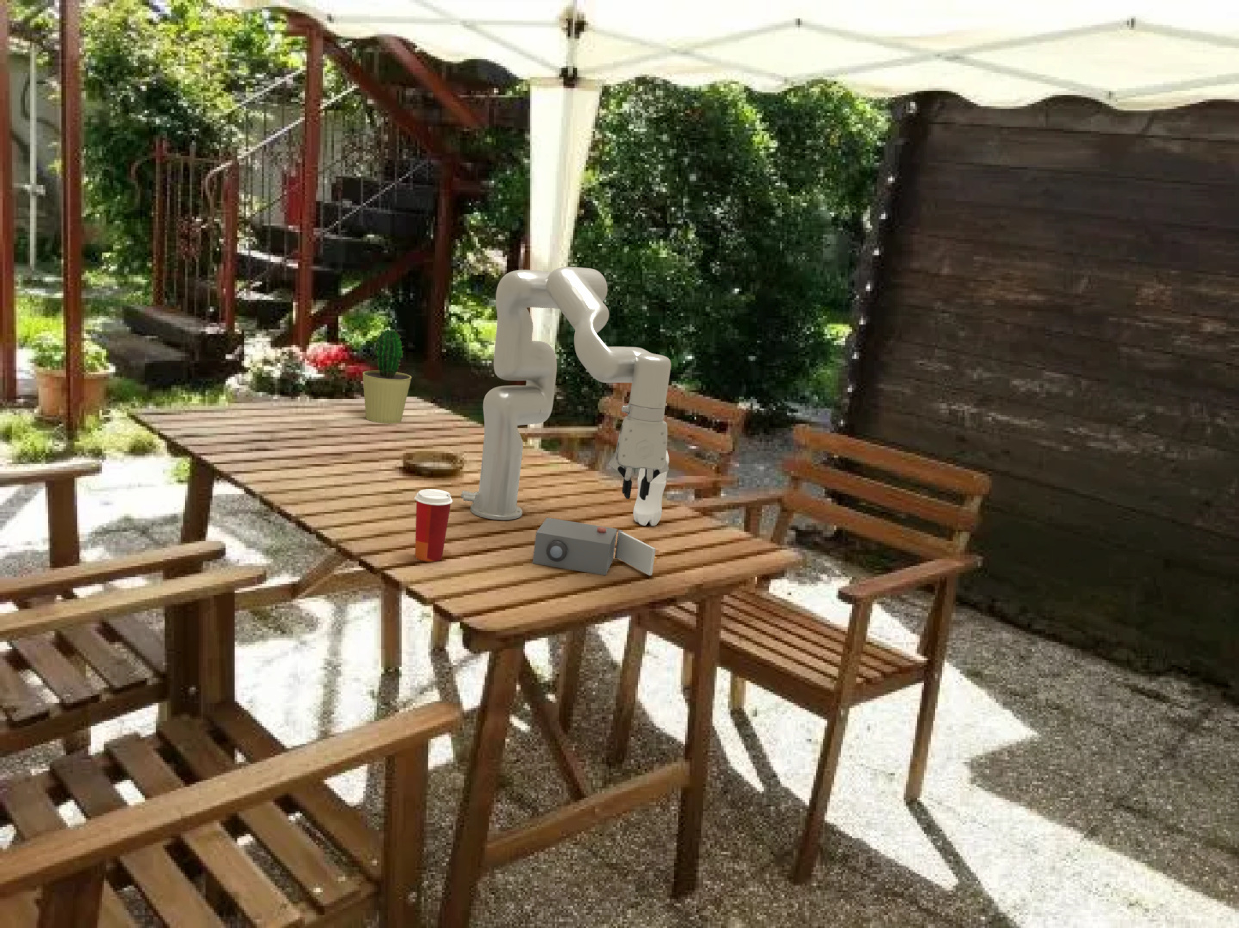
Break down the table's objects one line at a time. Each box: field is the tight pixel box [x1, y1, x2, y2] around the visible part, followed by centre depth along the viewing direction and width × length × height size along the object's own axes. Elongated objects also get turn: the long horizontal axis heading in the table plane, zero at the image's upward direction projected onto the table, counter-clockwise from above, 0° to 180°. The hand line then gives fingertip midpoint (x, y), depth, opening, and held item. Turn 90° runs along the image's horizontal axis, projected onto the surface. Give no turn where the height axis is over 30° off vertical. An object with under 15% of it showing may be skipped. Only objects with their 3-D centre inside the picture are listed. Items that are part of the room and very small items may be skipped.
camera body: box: [532, 517, 618, 576], centre depth 233 cm, size 16×13×8 cm
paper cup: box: [414, 488, 453, 563], centre depth 223 cm, size 8×8×14 cm
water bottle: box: [632, 450, 670, 527], centre depth 267 cm, size 7×7×25 cm
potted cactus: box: [362, 328, 413, 424], centre depth 343 cm, size 15×15×30 cm
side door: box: [614, 529, 658, 576], centre depth 234 cm, size 2×12×6 cm, turn 38°
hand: (634, 497), depth 227 cm, fingers open, 2 cm apart
